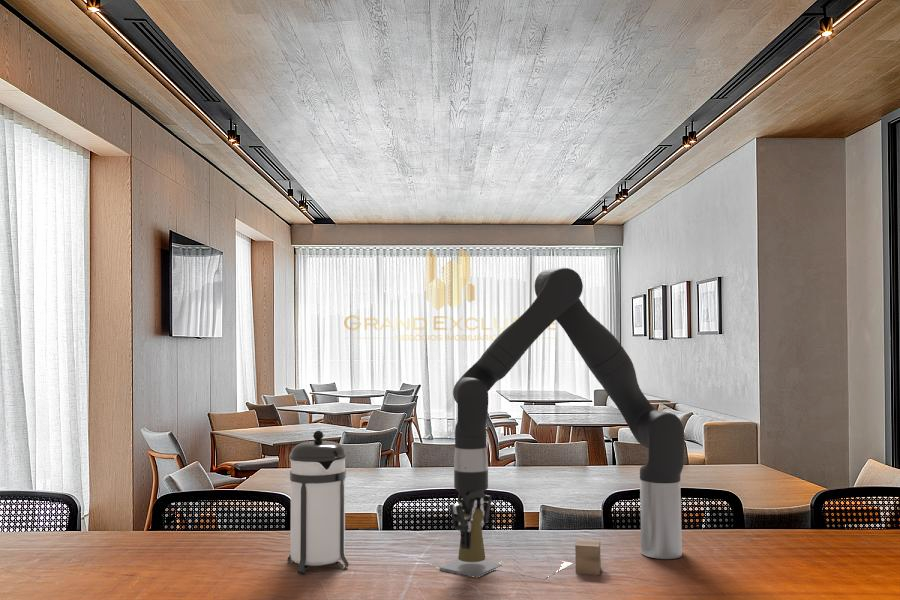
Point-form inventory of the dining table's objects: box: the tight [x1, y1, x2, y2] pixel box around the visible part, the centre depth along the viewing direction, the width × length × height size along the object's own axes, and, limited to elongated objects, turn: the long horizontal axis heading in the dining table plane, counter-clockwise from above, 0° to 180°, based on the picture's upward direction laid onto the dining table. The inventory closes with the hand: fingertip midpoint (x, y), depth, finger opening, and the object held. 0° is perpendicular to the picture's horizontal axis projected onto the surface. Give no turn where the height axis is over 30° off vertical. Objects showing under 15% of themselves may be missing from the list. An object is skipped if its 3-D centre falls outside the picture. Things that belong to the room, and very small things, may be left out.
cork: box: [457, 508, 486, 562], centre depth 169 cm, size 6×6×11 cm
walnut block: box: [574, 538, 601, 576], centre depth 167 cm, size 5×5×6 cm
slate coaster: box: [439, 559, 502, 578], centre depth 168 cm, size 10×10×1 cm
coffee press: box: [287, 430, 350, 576], centre depth 173 cm, size 17×16×30 cm
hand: (471, 545), depth 169 cm, fingers closed on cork, 4 cm apart
